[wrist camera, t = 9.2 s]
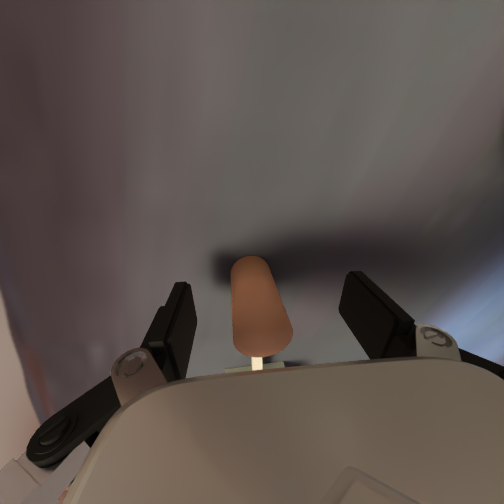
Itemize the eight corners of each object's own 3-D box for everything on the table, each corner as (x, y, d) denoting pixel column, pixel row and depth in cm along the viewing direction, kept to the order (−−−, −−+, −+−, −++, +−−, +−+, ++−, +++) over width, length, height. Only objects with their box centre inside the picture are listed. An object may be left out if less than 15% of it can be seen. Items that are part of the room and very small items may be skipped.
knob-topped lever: (208, 259, 14) (197, 321, 9) (289, 252, 15) (325, 307, 9) (229, 402, 22) (230, 480, 17) (281, 394, 23) (298, 468, 17)
